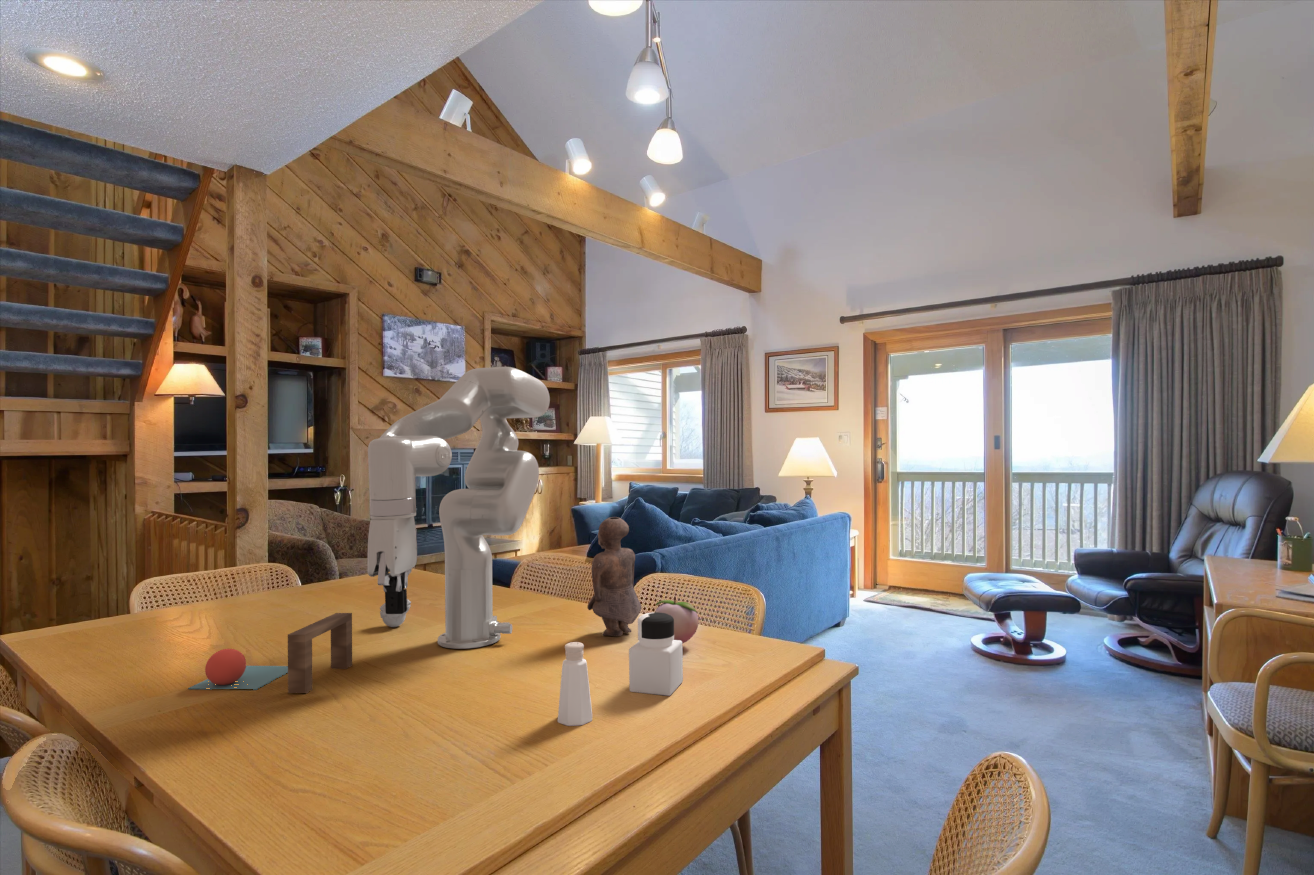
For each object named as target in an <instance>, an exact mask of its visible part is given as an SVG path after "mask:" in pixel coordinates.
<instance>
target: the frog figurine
mask: <svg viewBox="0 0 1314 875" xmlns="http://www.w3.org/2000/svg"><path fill="white" fill-rule="evenodd" d="M411 603H412V601H410V600H409V598H407V611H406V612H404V613H403V614H386V610H385V602H384V603H383V604H381V605H380V607H379V610H380V611H379V614H380V618H381V619H382V621H383V624H385V625H386V626H387V627H388V628H389V627H390V628H396V627H399V626H401V625H402V624H404V622H405V619H406V618H407V617H406V616H407V613H409V610H410V608H411V606H412V605H411Z"/></svg>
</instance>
